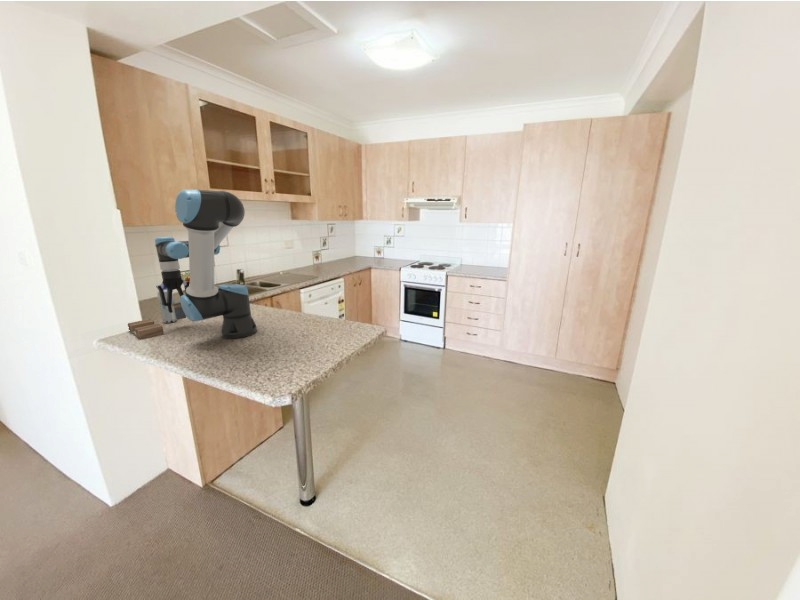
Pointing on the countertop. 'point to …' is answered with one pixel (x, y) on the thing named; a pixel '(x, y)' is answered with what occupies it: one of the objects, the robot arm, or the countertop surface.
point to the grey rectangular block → (178, 310)
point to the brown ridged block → (145, 329)
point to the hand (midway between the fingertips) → (179, 317)
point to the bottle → (165, 307)
